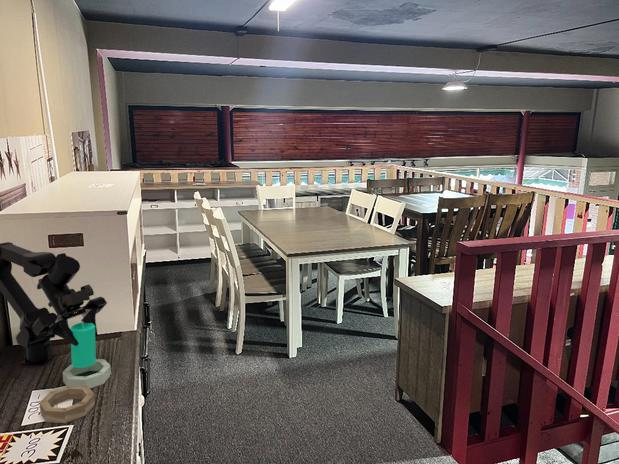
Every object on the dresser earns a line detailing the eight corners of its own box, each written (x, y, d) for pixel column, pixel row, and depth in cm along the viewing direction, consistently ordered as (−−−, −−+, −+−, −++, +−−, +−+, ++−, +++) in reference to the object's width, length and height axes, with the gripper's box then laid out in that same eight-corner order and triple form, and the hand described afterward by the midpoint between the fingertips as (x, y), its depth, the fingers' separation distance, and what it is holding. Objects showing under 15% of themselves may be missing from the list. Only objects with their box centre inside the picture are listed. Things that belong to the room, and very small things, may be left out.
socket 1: (56, 388, 119) (55, 378, 118) (77, 367, 130) (77, 358, 129) (98, 390, 119) (97, 380, 118) (115, 369, 130) (115, 359, 129)
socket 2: (32, 421, 105) (31, 410, 105) (58, 395, 116) (57, 384, 115) (79, 423, 105) (78, 412, 105) (100, 396, 116) (100, 386, 116)
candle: (91, 368, 119) (90, 326, 117) (67, 368, 119) (66, 325, 116) (99, 357, 125) (98, 317, 123) (76, 357, 124) (75, 316, 122)
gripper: (35, 287, 111) (66, 340, 108) (101, 269, 127) (129, 315, 124) (19, 309, 116) (48, 360, 113) (84, 289, 132) (111, 333, 130)
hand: (87, 341), depth 120 cm, fingers closed on candle, 5 cm apart
